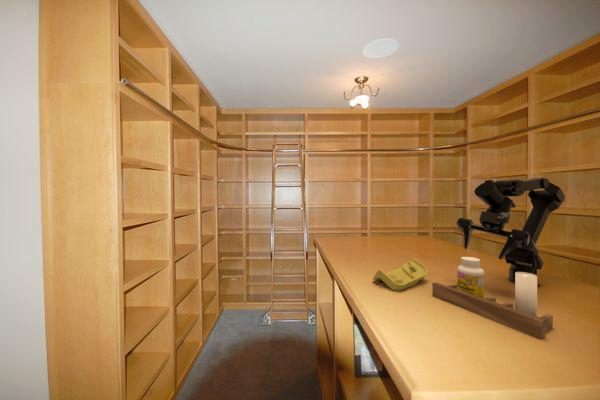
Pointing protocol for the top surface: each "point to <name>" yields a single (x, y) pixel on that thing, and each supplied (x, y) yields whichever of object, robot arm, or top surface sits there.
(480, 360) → the top surface
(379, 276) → the plastic component
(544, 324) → the walnut holder rail
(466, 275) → the supplement bottle
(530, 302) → the white pillar candle
